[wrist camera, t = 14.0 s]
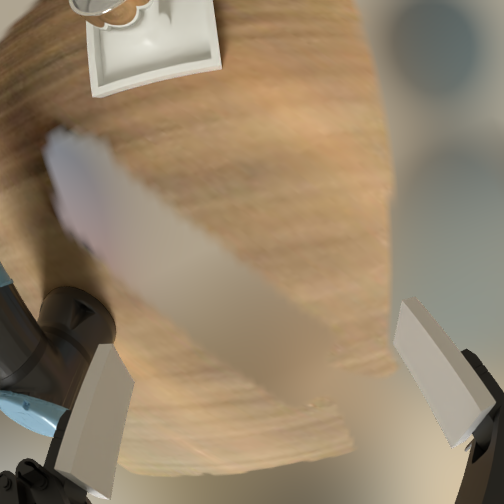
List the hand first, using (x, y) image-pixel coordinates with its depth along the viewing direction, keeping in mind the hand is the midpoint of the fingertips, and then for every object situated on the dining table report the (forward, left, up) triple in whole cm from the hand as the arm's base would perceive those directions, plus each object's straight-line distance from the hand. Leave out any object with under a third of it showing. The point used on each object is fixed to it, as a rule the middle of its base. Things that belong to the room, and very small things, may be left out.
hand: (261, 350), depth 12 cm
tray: (-8, +24, -29) cm, 38 cm away
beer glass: (-8, +24, -28) cm, 38 cm away
